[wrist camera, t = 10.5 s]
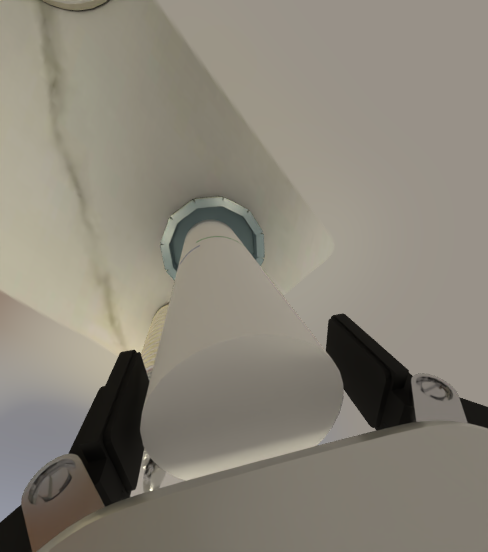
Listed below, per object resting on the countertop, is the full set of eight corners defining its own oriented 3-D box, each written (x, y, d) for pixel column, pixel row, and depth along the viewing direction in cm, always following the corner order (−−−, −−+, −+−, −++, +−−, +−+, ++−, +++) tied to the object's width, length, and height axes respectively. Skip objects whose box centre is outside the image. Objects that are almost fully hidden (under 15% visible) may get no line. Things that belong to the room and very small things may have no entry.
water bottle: (189, 343, 37) (176, 598, 14) (146, 332, 35) (50, 611, 12) (206, 308, 35) (222, 535, 12) (162, 294, 33) (84, 537, 10)
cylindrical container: (172, 243, 30) (87, 434, 7) (214, 207, 29) (274, 288, 6) (208, 280, 33) (233, 504, 10) (247, 249, 32) (372, 409, 9)
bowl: (155, 201, 28) (150, 203, 26) (256, 193, 30) (262, 193, 28) (174, 294, 33) (172, 303, 31) (260, 281, 35) (265, 290, 33)
